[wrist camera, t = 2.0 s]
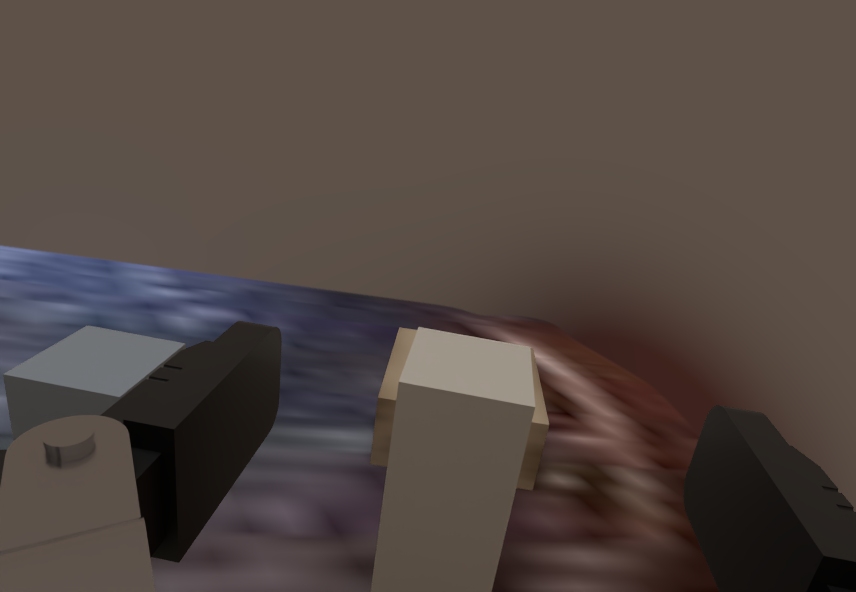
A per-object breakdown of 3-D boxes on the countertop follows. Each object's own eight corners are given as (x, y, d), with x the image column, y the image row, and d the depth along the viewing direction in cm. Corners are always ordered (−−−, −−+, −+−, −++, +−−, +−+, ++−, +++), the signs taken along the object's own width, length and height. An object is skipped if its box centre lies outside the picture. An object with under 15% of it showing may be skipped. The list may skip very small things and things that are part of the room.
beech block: (369, 467, 35) (378, 397, 33) (392, 385, 44) (399, 327, 42) (531, 494, 35) (549, 424, 33) (519, 406, 44) (532, 348, 42)
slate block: (29, 544, 26) (3, 374, 23) (101, 475, 31) (87, 325, 28) (132, 566, 26) (119, 397, 23) (189, 493, 31) (185, 343, 27)
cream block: (367, 617, 25) (398, 381, 21) (389, 534, 30) (418, 327, 25) (479, 642, 25) (535, 407, 20) (483, 553, 29) (530, 346, 25)
